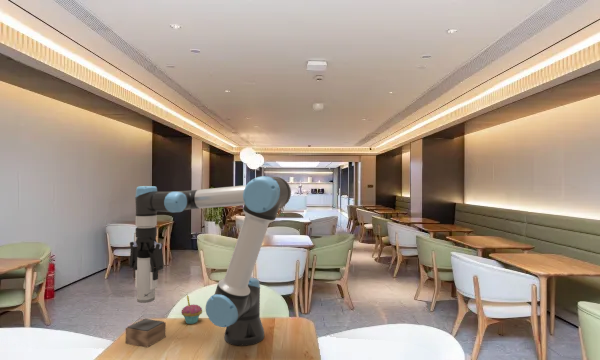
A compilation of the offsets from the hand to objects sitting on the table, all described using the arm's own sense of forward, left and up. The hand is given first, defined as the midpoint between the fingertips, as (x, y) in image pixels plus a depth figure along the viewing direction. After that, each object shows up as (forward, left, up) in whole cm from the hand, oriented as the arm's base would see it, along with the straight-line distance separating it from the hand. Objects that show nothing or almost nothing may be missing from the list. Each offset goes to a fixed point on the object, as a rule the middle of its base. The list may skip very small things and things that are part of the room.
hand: (146, 287), depth 147 cm
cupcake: (-5, -22, -20) cm, 30 cm away
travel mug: (0, 0, -5) cm, 5 cm away
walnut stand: (0, 0, -20) cm, 20 cm away
